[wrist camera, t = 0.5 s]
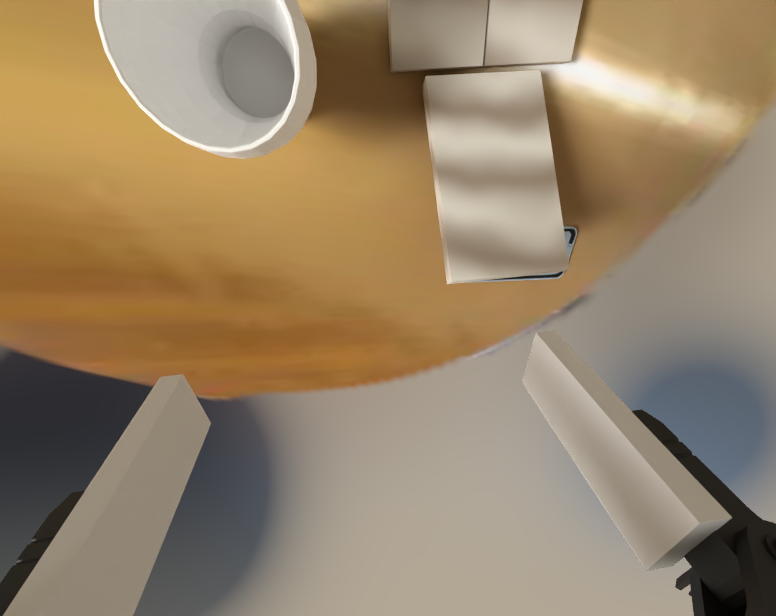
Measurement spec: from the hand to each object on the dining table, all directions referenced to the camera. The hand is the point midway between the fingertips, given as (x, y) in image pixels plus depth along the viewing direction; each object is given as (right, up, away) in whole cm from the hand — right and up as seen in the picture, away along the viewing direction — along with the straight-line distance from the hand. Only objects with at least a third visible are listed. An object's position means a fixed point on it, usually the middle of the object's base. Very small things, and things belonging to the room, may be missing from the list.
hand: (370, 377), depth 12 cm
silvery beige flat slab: (+11, +15, +18) cm, 26 cm away
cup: (-11, +24, +16) cm, 31 cm away
